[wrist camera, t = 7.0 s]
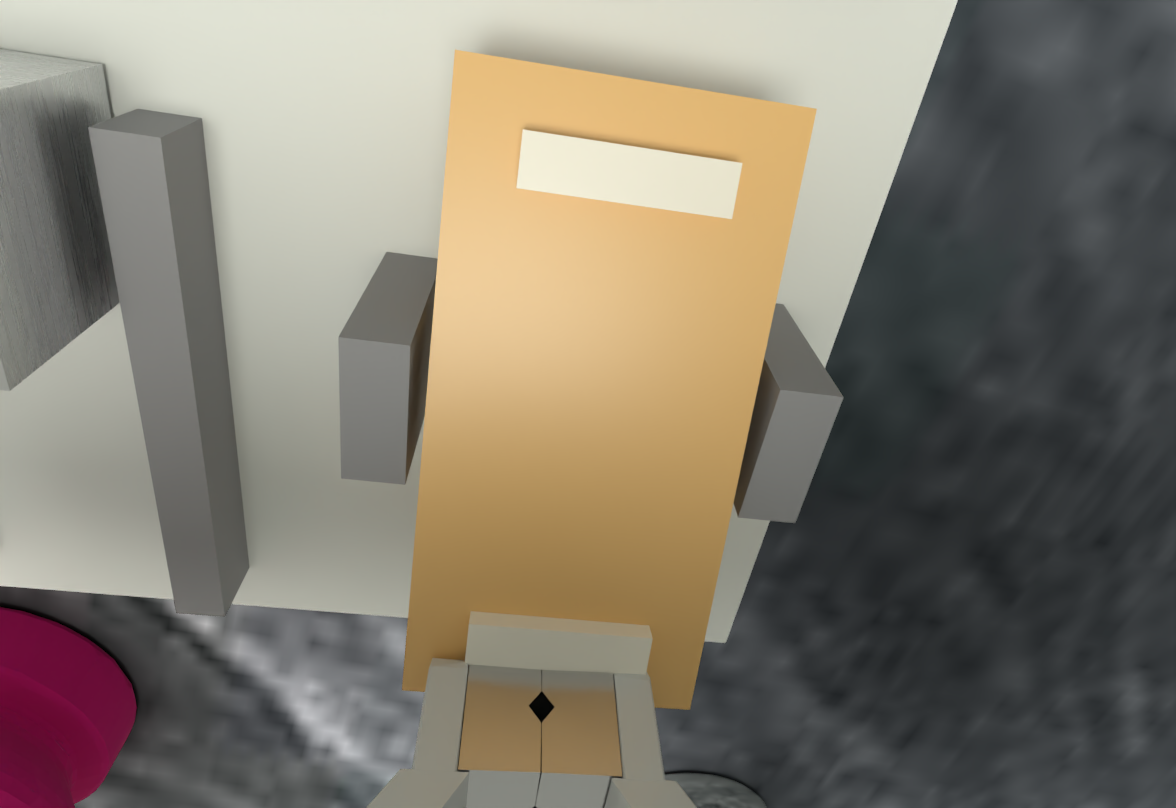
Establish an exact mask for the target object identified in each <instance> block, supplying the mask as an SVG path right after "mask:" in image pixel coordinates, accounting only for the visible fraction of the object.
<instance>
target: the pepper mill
mask: <svg viewBox="0 0 1176 808" xmlns="http://www.w3.org/2000/svg"><path fill="white" fill-rule="evenodd" d="M136 709H137V706H136V700H135V695H134V691H133V688H132V684H131V683H130V681H129V680H128V678H127V677H126V676H125V674H124V673H123V671H122V670H121V669H120V667H119V666H118V664H117V663H116V662H115V660H114V659H113V658H112V657H110V656H109V655H108V654H107V653H106V652H105V651H103V650H102V649H101V648H100V647H98V646H97V645H96V644H94V643H93V642H92V641H90V640H89V639H87V638H85V637H84V636H82V635H80V634H78V633H77V632H75V631H73V630H71V629H70V628H68V627H66V626H64V625H61V624H59V623H57V622H54V621H51V620H48V619H45V618H42V617H39V616H36V615H33V614H30V613H27V612H24V611H20V610H14V609H9V608H3V607H0V808H75V806H74V804H75V803H77V802H79V801H81V800H83V799H85V798H87V797H88V796H89V795H91V794H92V793H93V792H95V791H96V789H97V788H98V787H99V786H100V785H101V783H102V782H103V781H104V779H105V777H106V776H107V774H108V772H109V770H110V768H111V766H112V765H113V763H114V761H115V759H116V757H117V756H118V754H119V752H120V750H121V748H122V747H123V745H124V743H125V741H126V739H127V737H128V736H129V734H130V732H131V729H132V727H133V724H134V722H135V716H136Z"/></svg>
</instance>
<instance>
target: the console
mask: <svg viewBox="0 0 1176 808" xmlns="http://www.w3.org/2000/svg"><path fill="white" fill-rule="evenodd" d="M957 1H958V0H0V49H6V50H12V51H19V52H25V53H32V54H38V55H45V56H51V57H58V58H64V59H71V60H77V61H84V62H90V63H97V64H102V66H103V72H104V78H105V84H106V90H107V96H108V102H109V108H110V114H111V119H109V120H106V121H103V122H101V123H98V124H95V125H93V126H90V127H88V130H89V135H90V141H91V146H92V152H93V157H94V163H95V168H96V174H97V179H98V185H99V190H100V196H101V201H102V207H103V212H104V218H105V223H106V229H107V234H108V240H109V245H110V251H111V256H112V262H113V268H114V273H115V279H116V284H117V290H118V295H119V301H120V303H119V304H117V305H116V306H115V307H114V308H112V309H111V310H110V311H109V312H108V313H106V314H105V315H104V316H103V317H101V318H100V319H99V320H98V321H96V322H95V323H94V324H93V325H91V326H90V327H89V328H88V329H86V330H85V331H84V332H83V333H81V334H80V335H79V336H78V337H76V338H75V339H74V340H73V341H71V342H70V343H69V344H68V345H67V346H65V347H64V348H63V349H62V350H60V351H59V352H58V353H57V354H55V355H54V356H53V357H52V358H50V359H49V360H48V361H47V362H45V363H44V364H43V365H42V366H40V367H39V368H38V369H37V370H35V371H34V372H33V373H32V374H30V375H29V376H28V377H27V378H26V379H24V380H23V381H22V382H21V383H19V384H18V385H17V386H16V387H14V388H13V389H12V390H11V391H4V390H0V586H10V587H22V588H35V589H48V590H60V591H73V592H86V593H98V594H111V595H124V596H136V597H149V598H162V599H174V604H175V610H176V613H182V614H195V615H208V616H221V617H225V616H226V614H227V612H228V610H229V608H230V606H231V604H238V605H250V606H263V607H276V608H288V609H301V610H314V611H326V612H339V613H352V614H364V615H377V616H390V617H402V618H408V612H409V600H410V588H411V576H412V563H413V551H414V539H415V527H416V515H417V503H418V491H419V479H420V466H421V454H422V442H423V430H424V418H425V406H426V394H427V382H428V369H429V357H430V345H431V333H432V321H433V309H434V297H435V285H436V272H437V260H438V248H439V236H440V224H441V212H442V200H443V188H444V175H445V163H446V151H447V139H448V127H449V115H450V103H451V91H452V78H453V66H454V54H455V50H461V51H467V52H473V53H479V54H485V55H492V56H498V57H504V58H510V59H516V60H522V61H528V62H534V63H540V64H547V65H553V66H559V67H565V68H571V69H577V70H583V71H589V72H595V73H602V74H608V75H614V76H620V77H626V78H632V79H638V80H644V81H650V82H657V83H663V84H669V85H675V86H681V87H687V88H693V89H699V90H705V91H712V92H718V93H724V94H730V95H736V96H742V97H748V98H754V99H760V100H767V101H773V102H779V103H785V104H791V105H797V106H803V107H809V108H815V109H817V111H816V116H815V120H814V125H813V130H812V134H811V139H810V144H809V149H808V153H807V158H806V163H805V168H804V172H803V177H802V182H801V186H800V191H799V196H798V201H797V205H796V210H795V215H794V219H793V224H792V229H791V234H790V238H789V243H788V248H787V253H786V257H785V262H784V267H783V271H782V276H781V281H780V286H779V290H778V295H777V300H776V305H775V309H774V314H773V319H772V323H771V328H770V333H769V338H768V342H767V347H766V352H765V357H764V361H763V366H762V371H761V375H760V380H759V385H758V390H757V394H756V399H755V404H754V408H753V413H752V418H751V423H750V427H749V432H748V437H747V442H746V446H745V451H744V456H743V460H742V465H741V470H740V475H739V479H738V484H737V489H736V494H735V498H734V503H733V508H732V512H731V517H730V522H729V527H728V531H727V536H726V541H725V546H724V550H723V555H722V560H721V564H720V569H719V574H718V579H717V583H716V588H715V593H714V598H713V602H712V607H711V612H710V616H709V621H708V626H707V631H706V635H705V640H704V641H707V642H719V643H726V641H727V638H728V635H729V633H730V630H731V627H732V624H733V622H734V619H735V616H736V613H737V610H738V608H739V605H740V602H741V599H742V597H743V594H744V591H745V588H746V586H747V583H748V580H749V577H750V574H751V572H752V569H753V566H754V563H755V561H756V558H757V555H758V552H759V550H760V547H761V544H762V541H763V538H764V536H765V533H766V530H767V527H768V525H769V522H770V521H778V522H789V523H795V522H796V520H797V517H798V514H799V512H800V509H801V507H802V504H803V501H804V499H805V496H806V494H807V491H808V488H809V486H810V483H811V481H812V478H813V475H814V473H815V470H816V468H817V465H818V462H819V460H820V457H821V455H822V452H823V449H824V447H825V444H826V442H827V439H828V436H829V434H830V431H831V429H832V426H833V423H834V421H835V418H836V416H837V413H838V410H839V408H840V405H841V403H842V400H843V396H842V394H841V392H840V391H839V389H838V388H837V386H836V385H835V383H834V382H833V380H832V379H831V377H830V375H829V374H828V372H827V371H826V369H825V367H826V364H827V361H828V358H829V356H830V353H831V350H832V347H833V345H834V342H835V339H836V336H837V333H838V331H839V328H840V325H841V322H842V320H843V317H844V314H845V311H846V309H847V306H848V303H849V300H850V297H851V295H852V292H853V289H854V286H855V284H856V281H857V278H858V275H859V273H860V270H861V267H862V264H863V261H864V259H865V256H866V253H867V250H868V248H869V245H870V242H871V239H872V237H873V234H874V231H875V228H876V225H877V223H878V220H879V217H880V214H881V212H882V209H883V206H884V203H885V201H886V198H887V195H888V192H889V189H890V187H891V184H892V181H893V178H894V176H895V173H896V170H897V167H898V165H899V162H900V159H901V156H902V153H903V151H904V148H905V145H906V142H907V140H908V137H909V134H910V131H911V128H912V126H913V123H914V120H915V117H916V115H917V112H918V109H919V106H920V104H921V101H922V98H923V95H924V92H925V90H926V87H927V84H928V81H929V79H930V76H931V73H932V70H933V68H934V65H935V62H936V59H937V56H938V54H939V51H940V48H941V45H942V43H943V40H944V37H945V34H946V32H947V29H948V26H949V23H950V20H951V18H952V15H953V12H954V9H955V7H956V4H957Z"/></svg>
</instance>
